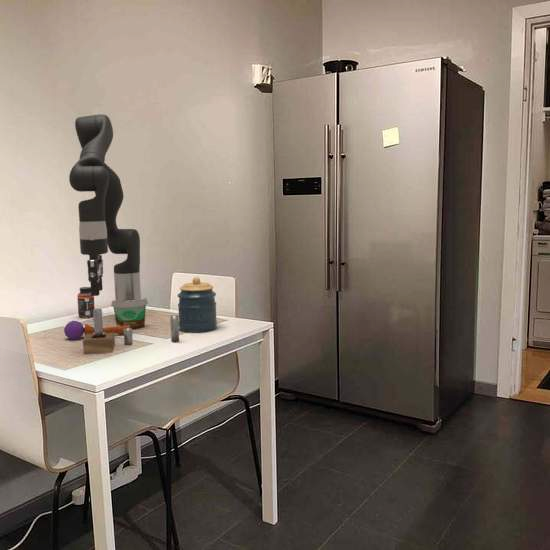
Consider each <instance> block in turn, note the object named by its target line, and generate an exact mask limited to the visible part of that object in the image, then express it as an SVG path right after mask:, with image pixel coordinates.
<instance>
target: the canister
mask: <svg viewBox="0 0 550 550" xmlns="http://www.w3.org/2000/svg"><path fill="white" fill-rule="evenodd" d="M213 289H214V286H213V285H211V284H210V283H209V282H205V281H204V282H203V281H202V282H201V279H200V277H198V276H196V277H195V276H194V278H192V282H187V283H184V284H183V285H182V286H180V287H179V290H180V292H179V293H177V297H178V301H179V302H178V303H177V308H178V321H179V331H181V332H186V333H205V332H211V331H214V330H215V329H217V325H218V319H217V302H216V299H215V298H216V295H217V293H216V292H215V291H214V290H213Z"/></svg>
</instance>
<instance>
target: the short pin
mask: <svg viewBox="0 0 550 550" xmlns="http://www.w3.org/2000/svg"><path fill="white" fill-rule="evenodd" d="M133 342H134V341H133V330H132V328H124V335H123V343H124V346H126V345H129V346H133V345H132V344H133Z"/></svg>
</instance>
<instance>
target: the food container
mask: <svg viewBox="0 0 550 550" xmlns="http://www.w3.org/2000/svg"><path fill="white" fill-rule="evenodd" d="M148 304H149V302H148V298H147V297H145V298H141V300H127V301H116V300H113V299H112V302H111V305H110V307H112V308H113V313H114V319H115V323H116V326H125V325H130V328H132V331H134V330H139V329H140V330H141V329H143V328H145V325H146V309H147V305H148Z"/></svg>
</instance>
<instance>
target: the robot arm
mask: <svg viewBox="0 0 550 550" xmlns="http://www.w3.org/2000/svg"><path fill="white" fill-rule="evenodd" d="M74 125H75V126H74V127H75V132H76V135H77V138H78V142H79V144H80V148H81V151H80V154H79V160H78V161H77V162H75V164H74V165H73V166H72V168H71V170H70V172H69V179H68V181H69V185H70V186H71V188H72V189H73V190H75V191H76V192H80V193H81V192H94V194H95V196H94V197H92V198H90V199H85V200H81V201H80V202H78V219H79V225H78V233H79V235H78V237H79V248H80V254H81V255H84V256H88V257H89V258H88V259H87V261H86V265H87V276H88V279H87V280H88V282H89V283H90V287H91V295H92V296H94V297H98V296H99V295H100V294H101V293H100V291H102V290H103V276H104V275H103V274H104V259H102V258H103V256H102V255H106V254H107V253H108V252H109V251H110V253H112V254H115V255H127V256H126V259H125V260H124V261H122V262H120V263H116V264H114V266H113V278H114V294H115V295H114V296H115V298H114V299H115V300H114V301H127V300H142V294H141V289H142V287H141V275H140V274H141V273H140V271H141V270H140V267H141V265H140V264H141V239H140V238H141V237H140V233H139V232H138V230H137V229H134V228H119V227H118V226H117V216H118V213H119V211H120V208H121V206H122V204H123V201H124V198H125V197H124V190H123V186H122V182H121V179H120V177H119V175H118V174H117V173H116V171H114V170H113V168H111V167H110V166H109V165H108V164H107V163H106V162H105V159H106V154H107V152H108V151H109V148H111V147H110V146H111V145H112V142H113V137H114V130H113V129H114V128H113V124H112V121H111V119H110V117H109V116H108V115H106V114H92V115H86V116H85V115H84V116H80V117H77V118H76V119H75V121H74Z"/></svg>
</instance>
